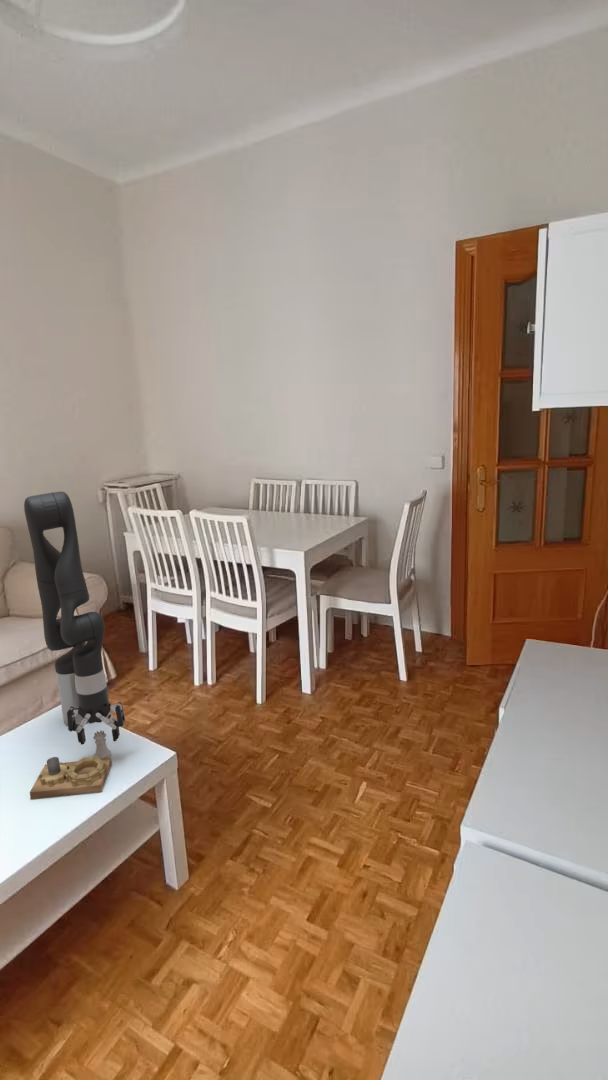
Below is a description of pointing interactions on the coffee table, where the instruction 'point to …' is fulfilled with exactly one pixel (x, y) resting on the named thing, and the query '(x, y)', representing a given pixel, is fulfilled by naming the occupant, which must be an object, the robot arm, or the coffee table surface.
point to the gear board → (68, 785)
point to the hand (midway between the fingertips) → (99, 741)
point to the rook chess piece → (101, 746)
